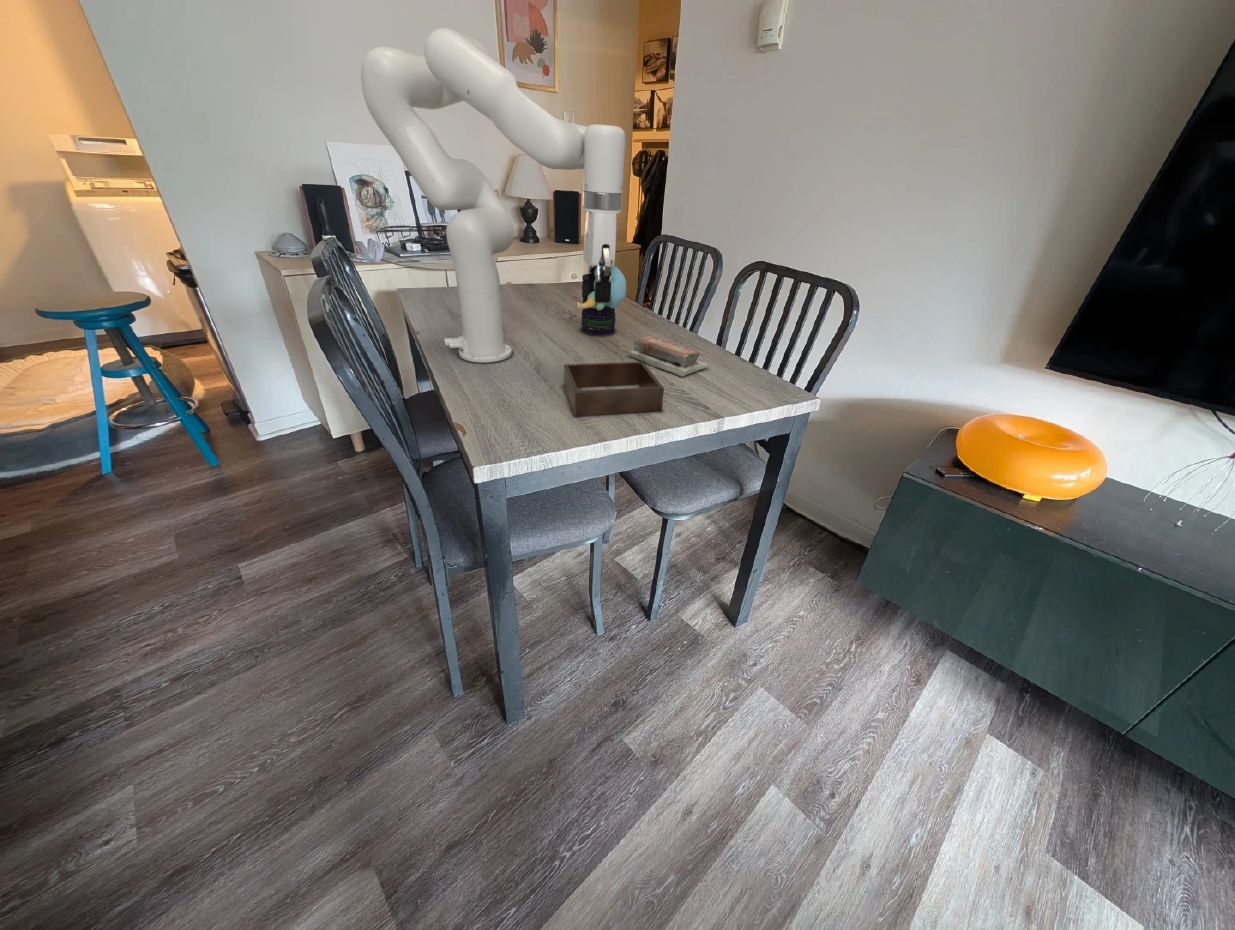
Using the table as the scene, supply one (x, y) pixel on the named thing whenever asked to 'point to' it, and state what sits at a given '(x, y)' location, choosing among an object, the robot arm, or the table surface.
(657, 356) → the packaged product
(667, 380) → the table surface
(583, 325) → the storage jar
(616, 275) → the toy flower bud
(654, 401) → the crate
